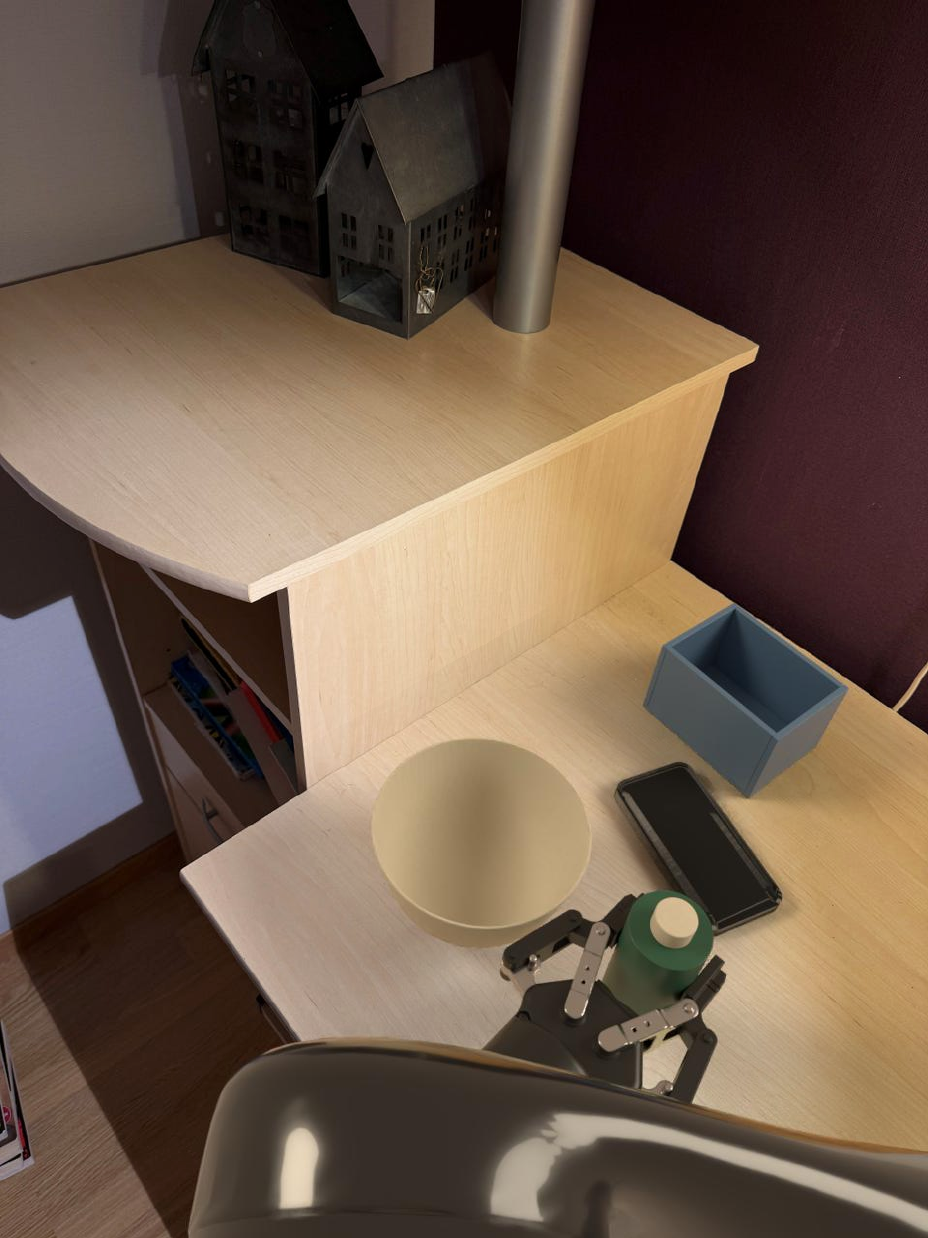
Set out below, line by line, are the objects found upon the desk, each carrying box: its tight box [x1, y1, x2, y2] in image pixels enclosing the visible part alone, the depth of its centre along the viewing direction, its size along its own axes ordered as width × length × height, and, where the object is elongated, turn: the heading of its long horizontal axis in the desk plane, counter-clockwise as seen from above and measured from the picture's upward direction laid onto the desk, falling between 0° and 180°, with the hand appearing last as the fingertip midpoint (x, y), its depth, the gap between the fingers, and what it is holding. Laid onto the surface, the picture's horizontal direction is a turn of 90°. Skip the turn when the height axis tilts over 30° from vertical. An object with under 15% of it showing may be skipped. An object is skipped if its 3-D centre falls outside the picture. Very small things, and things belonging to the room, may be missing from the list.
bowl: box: [370, 736, 593, 949], centre depth 69 cm, size 16×16×10 cm
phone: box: [614, 761, 784, 937], centre depth 77 cm, size 8×1×15 cm
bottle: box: [601, 889, 715, 1016], centre depth 58 cm, size 5×5×12 cm
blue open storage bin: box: [642, 602, 850, 799], centre depth 84 cm, size 13×10×8 cm
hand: (679, 932), depth 59 cm, fingers closed on bottle, 5 cm apart
